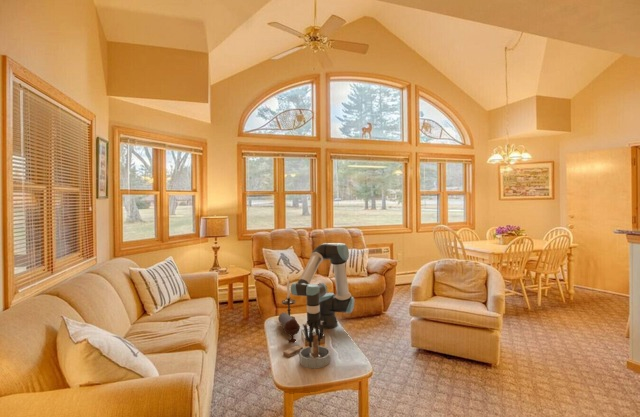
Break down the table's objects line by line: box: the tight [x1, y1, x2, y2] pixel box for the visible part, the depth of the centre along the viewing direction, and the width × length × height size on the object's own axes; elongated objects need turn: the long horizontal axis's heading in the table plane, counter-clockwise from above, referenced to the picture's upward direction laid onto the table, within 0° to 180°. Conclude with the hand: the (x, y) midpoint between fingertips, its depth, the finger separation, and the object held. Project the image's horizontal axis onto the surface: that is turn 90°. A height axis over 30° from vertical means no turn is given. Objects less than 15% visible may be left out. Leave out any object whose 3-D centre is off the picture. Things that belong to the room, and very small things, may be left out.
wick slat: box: [311, 331, 318, 357], centre depth 196 cm, size 2×5×12 cm, turn 23°
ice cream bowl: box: [283, 318, 301, 343], centre depth 225 cm, size 11×11×15 cm
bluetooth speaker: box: [278, 312, 292, 329], centre depth 245 cm, size 23×9×10 cm, turn 21°
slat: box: [282, 344, 304, 358], centre depth 208 cm, size 12×5×2 cm, turn 139°
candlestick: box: [281, 276, 296, 320], centre depth 267 cm, size 11×11×35 cm
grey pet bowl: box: [298, 345, 331, 369], centre depth 196 cm, size 18×18×5 cm
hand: (314, 351), depth 196 cm, fingers closed on wick slat, 2 cm apart
